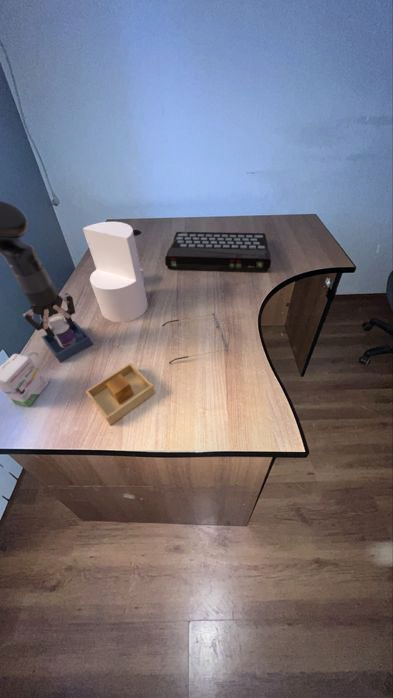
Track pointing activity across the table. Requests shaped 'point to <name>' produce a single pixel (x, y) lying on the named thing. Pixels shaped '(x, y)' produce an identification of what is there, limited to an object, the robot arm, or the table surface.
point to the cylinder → (116, 271)
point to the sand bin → (116, 411)
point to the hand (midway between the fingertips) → (61, 330)
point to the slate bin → (65, 353)
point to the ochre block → (119, 388)
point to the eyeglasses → (216, 326)
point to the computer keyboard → (219, 252)
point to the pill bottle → (62, 332)
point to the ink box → (21, 380)
